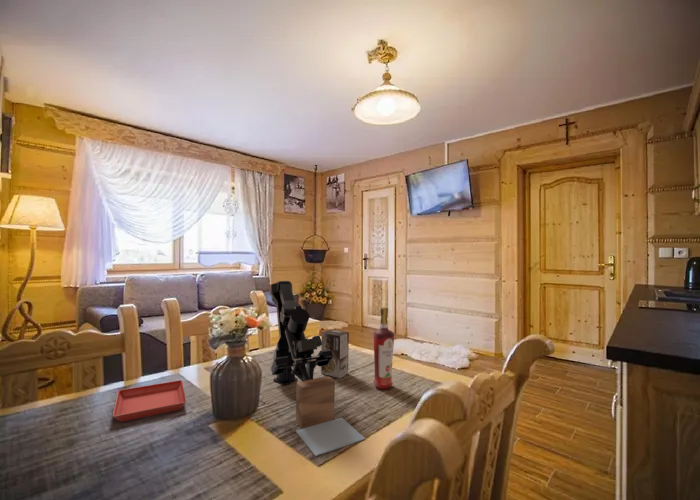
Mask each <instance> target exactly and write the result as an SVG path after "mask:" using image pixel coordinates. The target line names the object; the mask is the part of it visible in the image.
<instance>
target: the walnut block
mask: <svg viewBox="0 0 700 500" xmlns="http://www.w3.org/2000/svg"><path fill="white" fill-rule="evenodd" d="M335 382H336V381H335V380H334V379H333V378H332V377H330V376H329V375H326V376H322V377H317V378H313V379H311V380H306V381H298V382H296V391H295V393H296V395H295V396H296V397H295V398H296V399H295V401H296V403H295V407H296V408H295V423H297V425H298V426H299V427H300V429H303V428H307V427H310V426H313V425H317V424H320V423H324V422H327V421H331V420H334V419H335V393H336V392H335V389H336V383H335Z"/></svg>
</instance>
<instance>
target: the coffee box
mask: <svg viewBox="0 0 700 500" xmlns="http://www.w3.org/2000/svg"><path fill="white" fill-rule="evenodd" d="M349 333H350V332H349V331H341V330H336V329H328V330H326V331H322V332H321V336H320V338H321V342H322V345H321V346H320V347H321V350H320V351H323V350H329V349H330V350H331V351H332V352H333V354H334V357H333V359H332V360H331V362H330V363H329V365H327V366H321V367H320V368H321V371H320V372H321V374H323V375H326V376H329V377H330V376H331V377H334V378H337V379H342V377H345V376H347V375H349V347H350V346H349V344H350V343H349V342H350V337H349V335H350V334H349ZM346 374H347V375H346Z"/></svg>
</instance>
